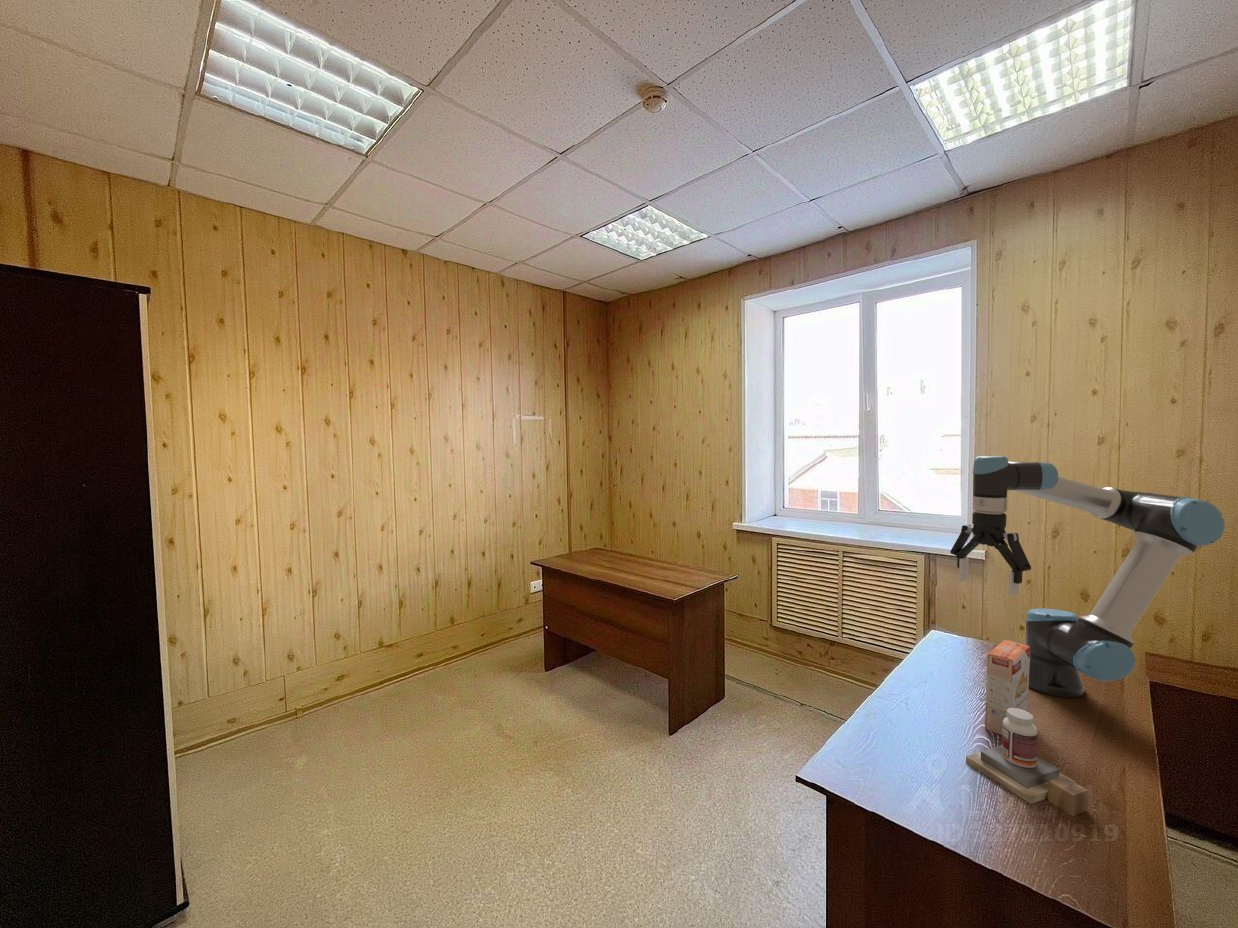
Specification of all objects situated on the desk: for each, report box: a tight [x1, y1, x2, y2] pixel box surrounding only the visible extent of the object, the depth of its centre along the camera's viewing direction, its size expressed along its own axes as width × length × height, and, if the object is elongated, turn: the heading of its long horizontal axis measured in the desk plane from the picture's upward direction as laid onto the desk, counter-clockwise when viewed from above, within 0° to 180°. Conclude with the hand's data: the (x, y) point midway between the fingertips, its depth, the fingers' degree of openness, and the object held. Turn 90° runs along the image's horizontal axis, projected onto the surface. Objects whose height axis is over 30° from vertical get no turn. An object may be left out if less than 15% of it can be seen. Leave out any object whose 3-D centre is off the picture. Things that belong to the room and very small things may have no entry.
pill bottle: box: [1001, 708, 1038, 768], centre depth 111 cm, size 6×6×11 cm
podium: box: [965, 744, 1077, 805], centre depth 111 cm, size 14×14×4 cm
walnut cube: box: [1047, 776, 1089, 817], centre depth 102 cm, size 4×4×4 cm
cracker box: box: [984, 639, 1030, 737], centre depth 129 cm, size 14×6×21 cm, turn 126°
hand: (987, 587), depth 136 cm, fingers open, 13 cm apart
